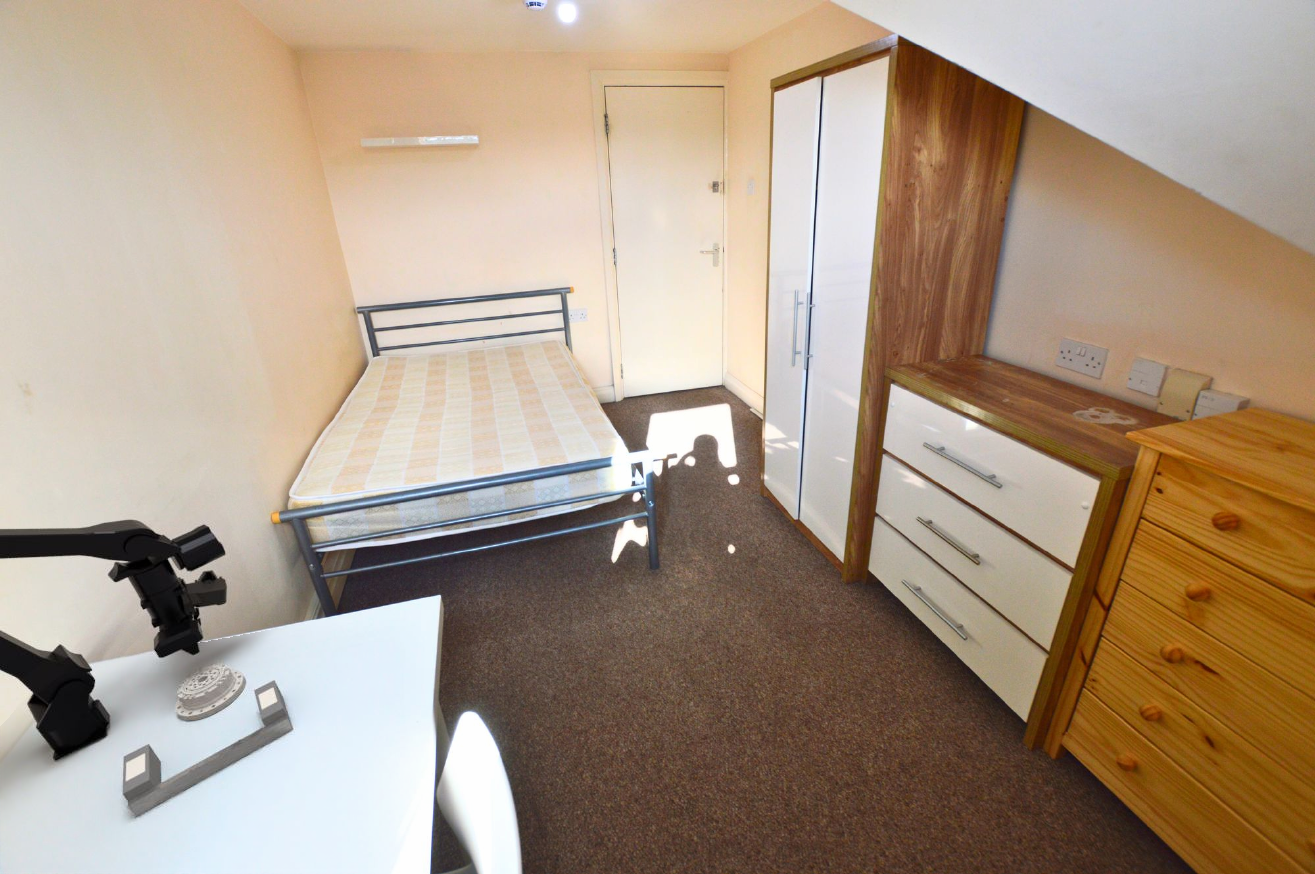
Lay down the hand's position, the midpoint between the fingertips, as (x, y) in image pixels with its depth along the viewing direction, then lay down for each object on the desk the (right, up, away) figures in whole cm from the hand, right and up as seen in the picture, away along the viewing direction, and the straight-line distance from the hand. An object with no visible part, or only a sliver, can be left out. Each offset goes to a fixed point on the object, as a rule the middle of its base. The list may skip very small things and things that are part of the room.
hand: (196, 652), depth 106 cm
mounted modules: (+16, -9, -16) cm, 25 cm away
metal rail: (+19, -10, -19) cm, 29 cm away
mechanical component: (+8, -6, -6) cm, 11 cm away
